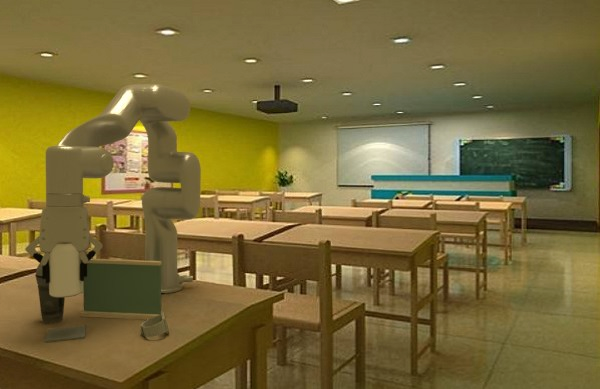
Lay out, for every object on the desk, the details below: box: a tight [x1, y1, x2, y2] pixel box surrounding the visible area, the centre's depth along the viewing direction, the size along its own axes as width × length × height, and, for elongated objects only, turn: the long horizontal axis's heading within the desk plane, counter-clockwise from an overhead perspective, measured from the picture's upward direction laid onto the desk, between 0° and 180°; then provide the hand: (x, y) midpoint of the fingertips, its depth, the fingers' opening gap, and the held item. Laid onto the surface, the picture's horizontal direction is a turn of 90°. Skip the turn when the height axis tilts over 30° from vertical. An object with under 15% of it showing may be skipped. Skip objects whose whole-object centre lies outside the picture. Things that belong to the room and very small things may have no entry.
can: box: [49, 243, 81, 298], centre depth 113 cm, size 6×6×12 cm
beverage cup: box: [35, 260, 66, 324], centre depth 123 cm, size 7×7×20 cm
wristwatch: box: [139, 311, 170, 338], centre depth 115 cm, size 9×6×5 cm
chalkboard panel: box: [80, 258, 164, 320], centre depth 128 cm, size 20×4×14 cm, turn 85°
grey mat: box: [44, 325, 87, 343], centre depth 114 cm, size 8×8×1 cm
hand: (65, 280), depth 113 cm, fingers closed on can, 6 cm apart
